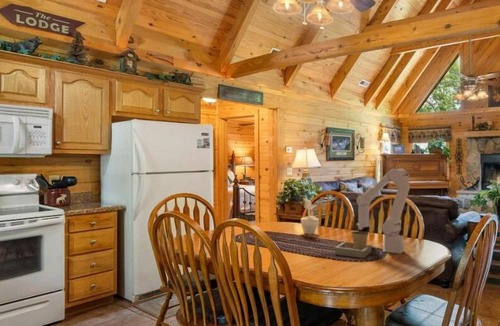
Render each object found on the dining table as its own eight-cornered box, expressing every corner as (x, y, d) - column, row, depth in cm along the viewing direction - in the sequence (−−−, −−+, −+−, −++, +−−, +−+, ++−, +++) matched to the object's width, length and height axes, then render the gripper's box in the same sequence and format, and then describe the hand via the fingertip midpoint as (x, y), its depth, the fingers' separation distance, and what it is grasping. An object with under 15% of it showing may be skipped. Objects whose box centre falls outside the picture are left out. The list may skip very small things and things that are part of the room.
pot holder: (371, 252, 198) (371, 245, 198) (363, 258, 187) (363, 251, 187) (343, 248, 206) (343, 242, 206) (334, 254, 195) (334, 247, 195)
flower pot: (349, 249, 204) (349, 233, 204) (352, 245, 213) (352, 230, 212) (366, 251, 200) (366, 235, 200) (370, 247, 208) (370, 232, 208)
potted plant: (297, 232, 250) (297, 194, 249) (312, 231, 255) (312, 194, 254) (308, 236, 238) (308, 196, 238) (323, 234, 243) (323, 195, 243)
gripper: (360, 214, 221) (360, 237, 221) (352, 217, 208) (352, 242, 209) (372, 215, 217) (372, 238, 217) (365, 218, 205) (365, 243, 205)
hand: (363, 240), depth 213 cm, fingers closed
